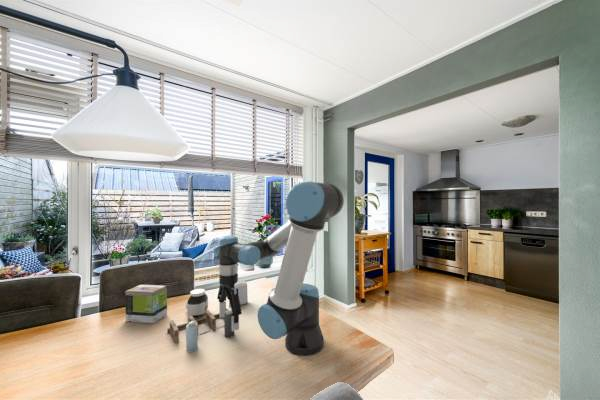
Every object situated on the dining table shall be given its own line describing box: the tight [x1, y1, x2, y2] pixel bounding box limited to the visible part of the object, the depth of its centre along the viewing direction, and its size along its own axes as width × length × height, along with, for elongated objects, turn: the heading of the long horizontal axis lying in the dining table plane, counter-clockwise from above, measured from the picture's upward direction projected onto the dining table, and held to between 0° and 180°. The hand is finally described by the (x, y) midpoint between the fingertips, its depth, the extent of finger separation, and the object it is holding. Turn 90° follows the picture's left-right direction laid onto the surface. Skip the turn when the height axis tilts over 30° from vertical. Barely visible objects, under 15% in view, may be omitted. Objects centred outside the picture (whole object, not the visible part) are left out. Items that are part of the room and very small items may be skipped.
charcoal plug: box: [223, 309, 235, 339], centre depth 105 cm, size 4×4×10 cm
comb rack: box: [166, 307, 229, 344], centre depth 111 cm, size 11×26×5 cm, turn 128°
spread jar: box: [185, 288, 209, 319], centre depth 125 cm, size 12×11×12 cm
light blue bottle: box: [185, 321, 199, 352], centre depth 96 cm, size 4×4×10 cm
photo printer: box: [228, 280, 249, 308], centre depth 135 cm, size 10×4×12 cm, turn 127°
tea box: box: [124, 284, 168, 324], centre depth 121 cm, size 15×10×15 cm, turn 80°
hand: (228, 323), depth 105 cm, fingers open, 13 cm apart
